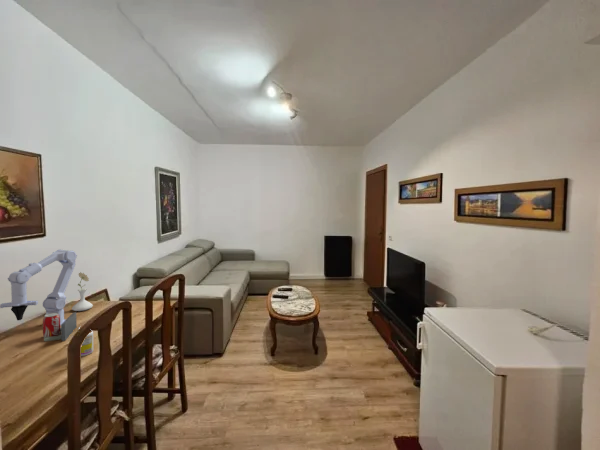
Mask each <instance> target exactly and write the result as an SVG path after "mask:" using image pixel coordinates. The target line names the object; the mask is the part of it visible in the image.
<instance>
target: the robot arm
mask: <svg viewBox="0 0 600 450" xmlns="http://www.w3.org/2000/svg"><path fill="white" fill-rule="evenodd" d="M77 257H78V254H77V253H76V251H74V250H69V249H67V250H66V249H57V250H55V251H53V252H52V253H51V254H50V255H48V256H47V257H45V258H43V259H41V260H40V261H38V262H31V263H28V265H26V266H25V267H22V268H20V269H19V270H18V271H13V272H11V273H10V274H9V276H8V277H7V281H8V282H9V283H10V287H11V288H10V290H11V302H4V303H0V309H3V308H10V310H11V312H12V313H13V314H14V315H15V318H16V320H17V321H22V320H23V318H24V314H25V311H26V310H27V308H28V307H29V306H37V305H39V300H28V294H27V293H28V292H27V291H28V290H27V288H28V287H27V283H28V281H29V280H30V278H32V277H33V276H35V275H36V274H38V273H40V272H41V271H42V270H43V268H45V267H47V266H48V265H50V264H52V263H55V262H56V261H57V262H59V263H61V265H62V268H61V271H60V273H59V275H58V278H57V280H56V283H55V285H54V288H53V290H52V292H50V293H49V294H47V295H46V298H45V299H44V300H43V301H42V307H43V308H44V309H45V315H46V314H49V313H59V316H60V327H61V324H62V323H63V322H64V321H65V320H66V319H67V318H66V319H65V310H64V308H65V306H66V299H67V296H66V295H65V292H66V289H67V287H68V284H69V282H70V280H71V277H72V275H73V272H74V269H75V267H76V260H77V259H78V258H77Z"/></svg>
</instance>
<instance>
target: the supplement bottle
mask: <svg viewBox="0 0 600 450" xmlns="http://www.w3.org/2000/svg"><path fill="white" fill-rule="evenodd" d="M80 327H81V326H79V327H78V330H79V329H80ZM91 331H92V332H91V333H89V334H88V335H87V337H86V338H85V340H84V342H83V344H82V347H81V356H80V357H84V356H87V355H91V354H92V353H93V352H94V331H93V330H91Z"/></svg>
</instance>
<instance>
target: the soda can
mask: <svg viewBox="0 0 600 450" xmlns="http://www.w3.org/2000/svg"><path fill="white" fill-rule="evenodd" d="M60 328H61V326H60V316H59V313H49V314H46V313H45V314H44V317H43V319H42V335H43V339H44V338H45V337H50V336H59V335H61V332H60Z"/></svg>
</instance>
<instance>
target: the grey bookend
mask: <svg viewBox="0 0 600 450" xmlns="http://www.w3.org/2000/svg"><path fill="white" fill-rule="evenodd" d="M75 328H77V311H75V312H72V313H71V314H70V315H69V316H68V317H67V318H66V320H65V321H64V322H63V323H62V324H61V326H60V334H59V335H58V336H50V337H45V338H44V337H43V341H44V342H50V341H58V340H59V341H60V340H61V342H66V341H67V340H68V339H69V338H70V336H71V335H72V333H73V332H74V331H75V330H76V329H75ZM74 329H75V330H74ZM73 330H74V331H73ZM70 334H71V335H70ZM69 335H70V336H69Z"/></svg>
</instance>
